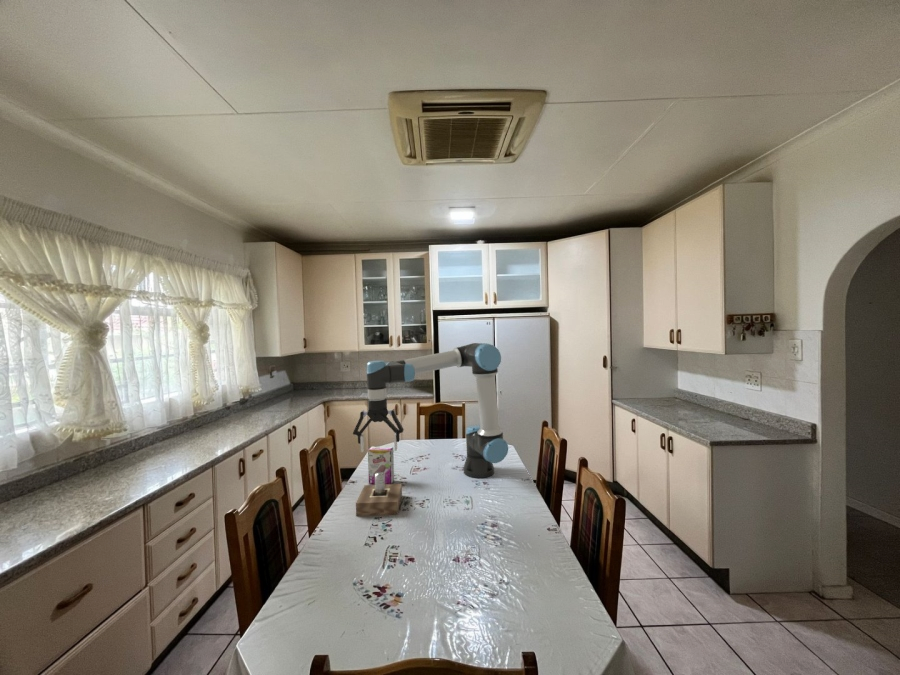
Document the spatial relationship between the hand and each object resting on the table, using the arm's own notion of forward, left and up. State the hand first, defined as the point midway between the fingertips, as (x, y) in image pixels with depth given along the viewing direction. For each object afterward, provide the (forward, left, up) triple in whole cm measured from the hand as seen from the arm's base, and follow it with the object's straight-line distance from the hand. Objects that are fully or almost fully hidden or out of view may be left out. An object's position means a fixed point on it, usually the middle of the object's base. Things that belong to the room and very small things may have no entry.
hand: (379, 450), depth 145 cm
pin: (0, 0, -22) cm, 22 cm away
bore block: (0, 0, -23) cm, 23 cm away
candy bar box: (+3, -22, -23) cm, 32 cm away
